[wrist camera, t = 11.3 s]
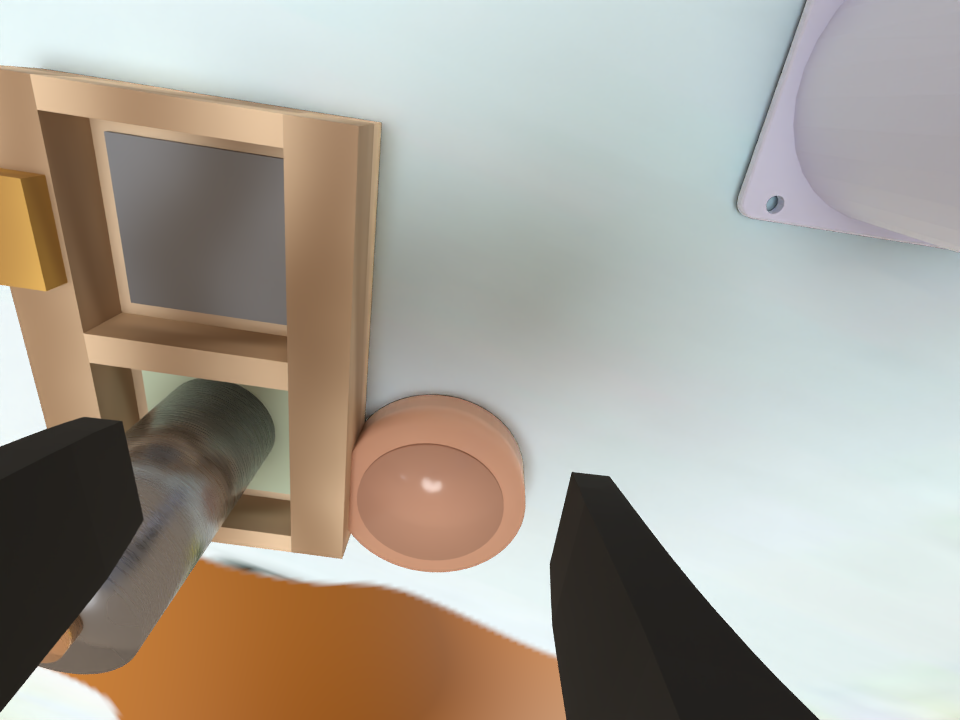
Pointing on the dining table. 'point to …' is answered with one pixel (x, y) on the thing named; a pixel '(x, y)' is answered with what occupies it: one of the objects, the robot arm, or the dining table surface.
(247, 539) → the board
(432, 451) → the dish
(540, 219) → the dining table surface
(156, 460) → the cell
